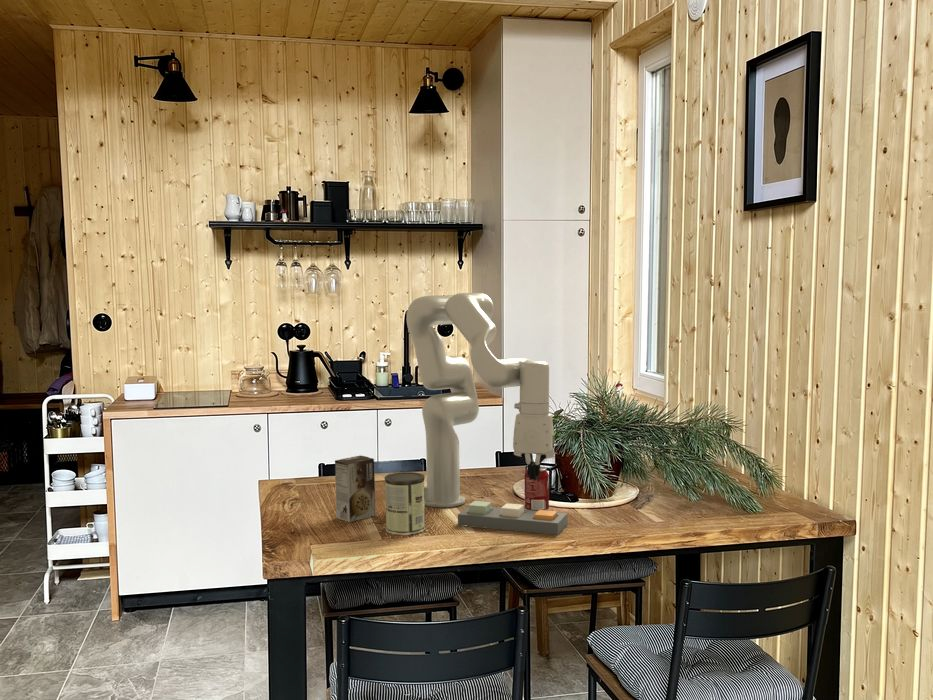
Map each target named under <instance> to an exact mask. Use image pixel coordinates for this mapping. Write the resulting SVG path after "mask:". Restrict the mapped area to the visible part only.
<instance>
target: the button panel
mask: <svg viewBox="0 0 933 700" xmlns="http://www.w3.org/2000/svg"><path fill="white" fill-rule="evenodd" d="M537 512H538V511H535V510H526V509H524V514H523V515H522V516H521V517H509V516H501V507H499V506H492V511H491V512H489V513H488V514H487V515H486V514H475V513H469V506H467V507H466V508H464V509H463V510H461V511H460V512H459V513H457V526H458V525H467V526H466V527H468V526H476V527H475V528H479V527H486V528H485V529H489V528H495V529H494V530H500V529H504V531H511V530H517V531H516V532H521V531H525V532H524V533H532V532H536V533H535V534H543V533H548V534H547V535H553V534H555V535H557V536H559V534H560V533H561V532H562V531H563V530H564V529H565V528H566V527H567V526H568V512H567V513H566V512H558V511H557V517H556V518H555V520H543V519H534V514H535V513H537ZM566 525H567V526H566ZM565 526H566V527H565ZM561 530H562V531H561ZM560 531H561V532H560Z"/></svg>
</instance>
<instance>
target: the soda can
mask: <svg viewBox="0 0 933 700" xmlns="http://www.w3.org/2000/svg"><path fill="white" fill-rule="evenodd" d="M549 490H550V475H549V472H548V471H547V467H545V466H541V465H540V476H539V477H538V479H536V480H533V479H532V480H530V479H529V476H528V466H527V467H526V471H525V472H524V510H535V511H539V510H547V511H549V509H550V491H549Z"/></svg>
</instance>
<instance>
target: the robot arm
mask: <svg viewBox="0 0 933 700" xmlns="http://www.w3.org/2000/svg"><path fill="white" fill-rule="evenodd" d="M494 311H495V306H494V303H493V301H492V299H491V298H490V297H489V295H487V294H485V293H483V292H461V293H460V292H459V293H456V294H448V295H444V294H443V295H441V294H440V295H437V294H435V295H432V294H431V295H423V296H419V297H418V298H415V299H413V301H412V302H410V304H409V306H408V308H407V311H406V325H407V326H406V327H407V329H408V332H409V335H410V337H411V340H412V343H413V348H414V351H415V356H416V361H417V366H418V367H417V368H418V371H419V372H418V373H419V375H420V381H421V384H422V385H423V388H425V389H426V390H429V391H438V390H439V391H440V390H448V389H450V392H447V393H445V392H444V393H438V394H435V395H432V396H430V397H429V398H427V399H426V400H425V401H424V403H423V405H422V409H421V410H422V411H421V412H422V414H421V415H422V418H423V419H422V420H423V424H424V428H425V429H424V430H425V445H426V447H425V448H426V485H424V502H425V506H427V507H432V508H451V507H452V508H453V507H458V506H459V507H460V506H461V505H463V504H465V503H466V497H465V496H463V495H461V489H460V488H461V485H460V484H461V482H460V476H461V475H460V474H461V472H460V440H459V436H458V434H457V432H456V430H455V429H454V426H455V427H456V426H459V425H460V426H461V425H466V424H470V423H472V422H474V421H475V420H476V419H477V418H478V415H479V413H480V412H479V411H480V406H479V404H480V403H479V400H478V398H479V397H478V395H477V389H476V388H477V387H476V385H475V380H474V375H473V374H474V373H473V371H472V368H471V365H472V367H473V369H474V370H475V372H476V373H477V374H478V376H479V377H480V378H481V380H482V381H483V382H484V383H485V384H486V385H488V386H489V387H490V388H493V389H504V388H515V387H516V388H517V387H519V402H518V403H517V402H516V403H514V406H513V407H514V409H517V410H518V413H516V415H515V420H514V426H513V427H514V429H513V438H512V448H513V455H514V456H516V457H520V458H522V459H523V460H524V461H525V463H526V464H527V467H528V476H529V479H530V480H532V479H533V480H536V479H538V477H539V476H540V466H541V463H542V462H544V461H545V460H546V459H552V458H554V457H555V455H556V454H555V451H554V449H555V431H554V430H555V429H554V428H555V427H554V423H553V417H552V414H551V413H550V367H549V363H548V362H546V361H542V360H531V359H528V358H526V357H525V358H524V357H509V358H500V359H499V358H498V359H497V357H496V356H494V354H493V353H492V352H491V350H490V349H489V347H488V346H489V345H491V343H492V342H493V341H494V339H495V338H496V336H497V333H498V331H497V327H496V324H495V323H494V322H493V321H492V320H491V319H492V318H493V315H494V313H495V312H494ZM436 325H437V326H438V325H440V326H441V325H454V326H455V327H456V329H457V331H459V332H460V333H461V334H462V336H463V337H464V338H465V340H466V341H467V342H468V344H469V345H470V347H469V356H470V361H471V365H470V364H469V362H468V360H467V359H466V358H464V357H462V356H460V355H447V353H446V349H445V344H444V341H443V339H442V337H441V335H440V334H439V333H438V331H437V330H436V329H435V328H434V326H436ZM533 454H534V455H535V459H534V455H533ZM534 460H535V461H534Z"/></svg>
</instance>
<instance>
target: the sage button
mask: <svg viewBox="0 0 933 700" xmlns="http://www.w3.org/2000/svg"><path fill="white" fill-rule="evenodd" d="M492 503H493V502H492V501H484V500H483V501H482V500H480V501H479V500H473V501H472V502H471V503H469V504H468V507H469V513H475V514H486V515H487V514H488V513H489V512H491V511H492V507H493V505H492Z"/></svg>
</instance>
